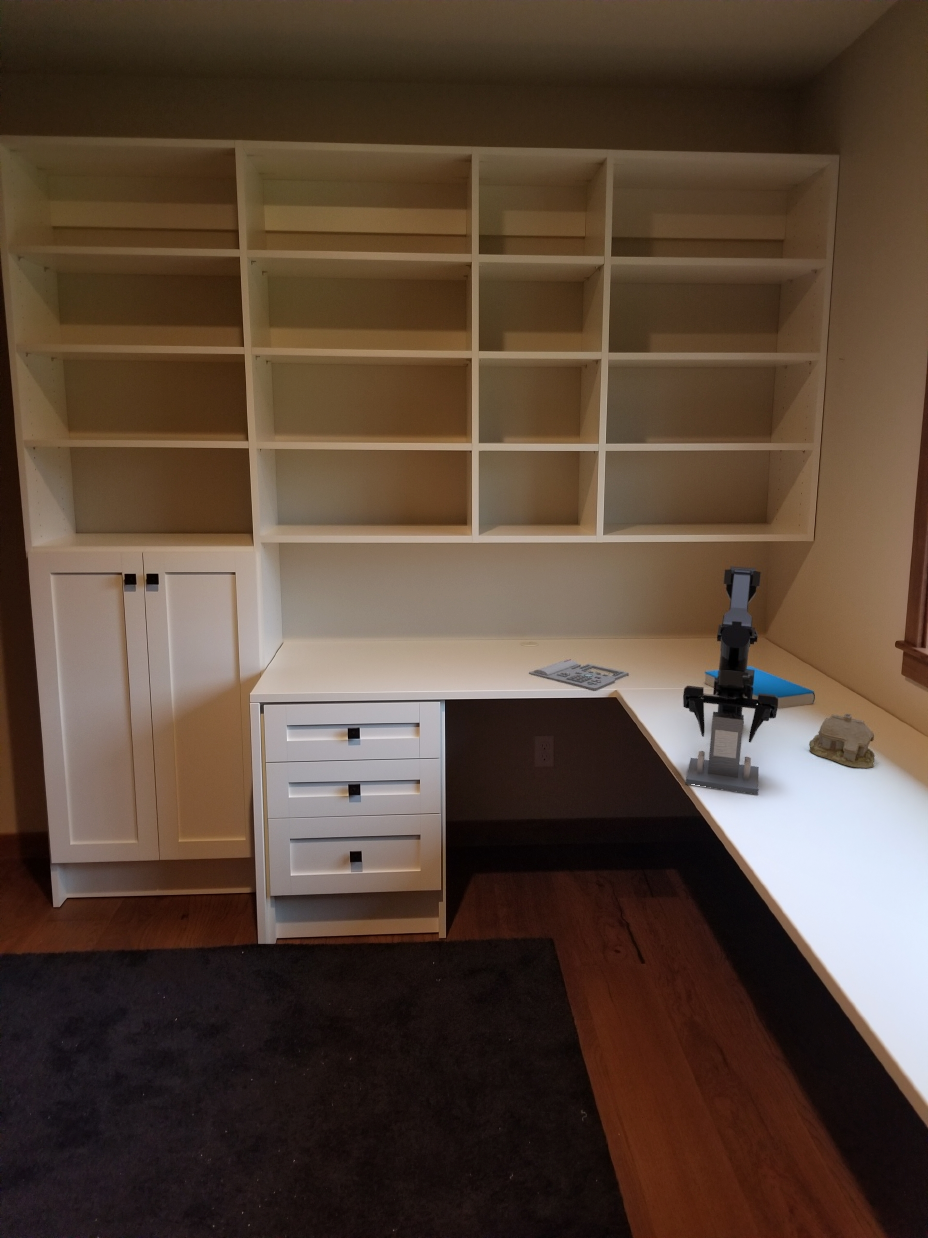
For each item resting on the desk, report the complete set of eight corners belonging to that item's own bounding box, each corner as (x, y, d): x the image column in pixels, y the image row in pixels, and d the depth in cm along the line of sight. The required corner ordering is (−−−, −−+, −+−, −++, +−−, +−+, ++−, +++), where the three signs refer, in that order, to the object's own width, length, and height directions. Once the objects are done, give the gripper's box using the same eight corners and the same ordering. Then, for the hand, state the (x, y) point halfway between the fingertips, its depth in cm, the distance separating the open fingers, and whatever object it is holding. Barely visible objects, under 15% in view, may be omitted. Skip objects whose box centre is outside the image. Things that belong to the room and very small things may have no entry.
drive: (708, 767, 176) (713, 711, 173) (738, 772, 174) (743, 715, 171) (707, 774, 173) (712, 716, 170) (737, 778, 171) (743, 720, 168)
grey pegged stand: (690, 762, 182) (691, 742, 180) (758, 772, 177) (760, 751, 176) (685, 784, 170) (687, 763, 169) (757, 795, 166) (760, 773, 165)
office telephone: (528, 668, 245) (567, 654, 259) (527, 676, 245) (567, 662, 260) (595, 683, 229) (633, 668, 244) (594, 692, 230) (632, 677, 245)
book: (765, 698, 215) (704, 670, 238) (764, 713, 216) (702, 684, 239) (816, 690, 222) (751, 664, 244) (814, 706, 223) (750, 678, 245)
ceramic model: (882, 757, 186) (888, 715, 184) (868, 772, 178) (874, 728, 176) (817, 742, 195) (822, 701, 193) (801, 756, 187) (806, 713, 184)
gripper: (687, 648, 174) (678, 715, 167) (782, 657, 169) (778, 727, 161) (687, 674, 184) (679, 739, 176) (777, 684, 178) (773, 751, 170)
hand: (726, 738), depth 170 cm, fingers open, 9 cm apart
